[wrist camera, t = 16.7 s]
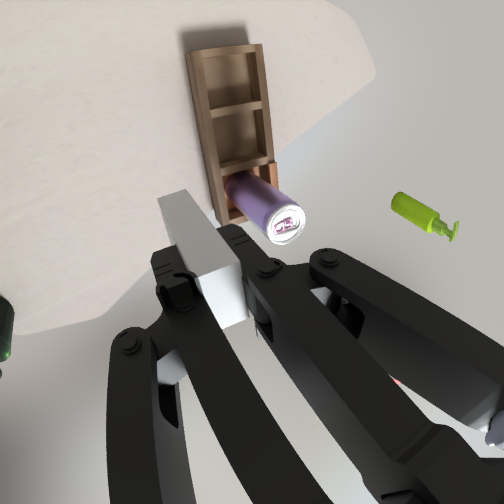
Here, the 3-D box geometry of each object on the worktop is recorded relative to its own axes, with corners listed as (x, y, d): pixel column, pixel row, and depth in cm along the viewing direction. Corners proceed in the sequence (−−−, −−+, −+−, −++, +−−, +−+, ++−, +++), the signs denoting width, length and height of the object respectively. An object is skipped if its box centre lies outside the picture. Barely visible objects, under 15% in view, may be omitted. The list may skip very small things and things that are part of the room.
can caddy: (216, 218, 49) (225, 230, 46) (185, 54, 32) (192, 50, 29) (268, 201, 52) (280, 211, 49) (250, 46, 35) (263, 43, 32)
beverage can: (219, 175, 44) (263, 213, 33) (253, 164, 46) (305, 197, 34) (227, 207, 48) (269, 252, 37) (258, 195, 49) (308, 235, 38)
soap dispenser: (405, 186, 68) (463, 220, 54) (401, 208, 73) (455, 243, 58) (393, 189, 67) (453, 225, 52) (389, 212, 71) (445, 250, 56)
